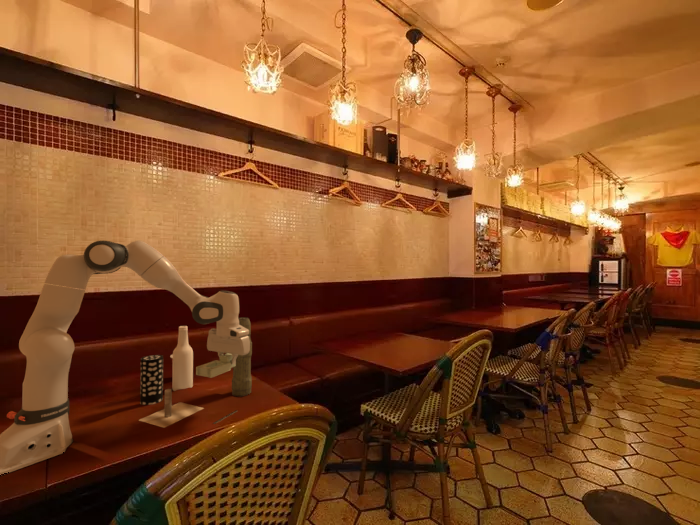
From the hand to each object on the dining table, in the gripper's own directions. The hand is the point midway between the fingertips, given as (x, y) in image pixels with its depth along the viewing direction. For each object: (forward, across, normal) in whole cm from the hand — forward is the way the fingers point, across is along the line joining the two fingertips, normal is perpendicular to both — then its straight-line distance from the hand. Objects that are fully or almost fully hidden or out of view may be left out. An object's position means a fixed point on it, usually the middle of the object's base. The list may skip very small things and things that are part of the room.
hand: (227, 363), depth 140 cm
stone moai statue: (+19, -7, +16) cm, 26 cm away
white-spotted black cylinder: (+19, -33, -10) cm, 39 cm away
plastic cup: (+19, -50, +19) cm, 57 cm away
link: (+2, 0, -5) cm, 5 cm away
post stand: (+19, -14, -15) cm, 28 cm away
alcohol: (+19, -36, +8) cm, 42 cm away
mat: (+19, 0, -6) cm, 20 cm away
